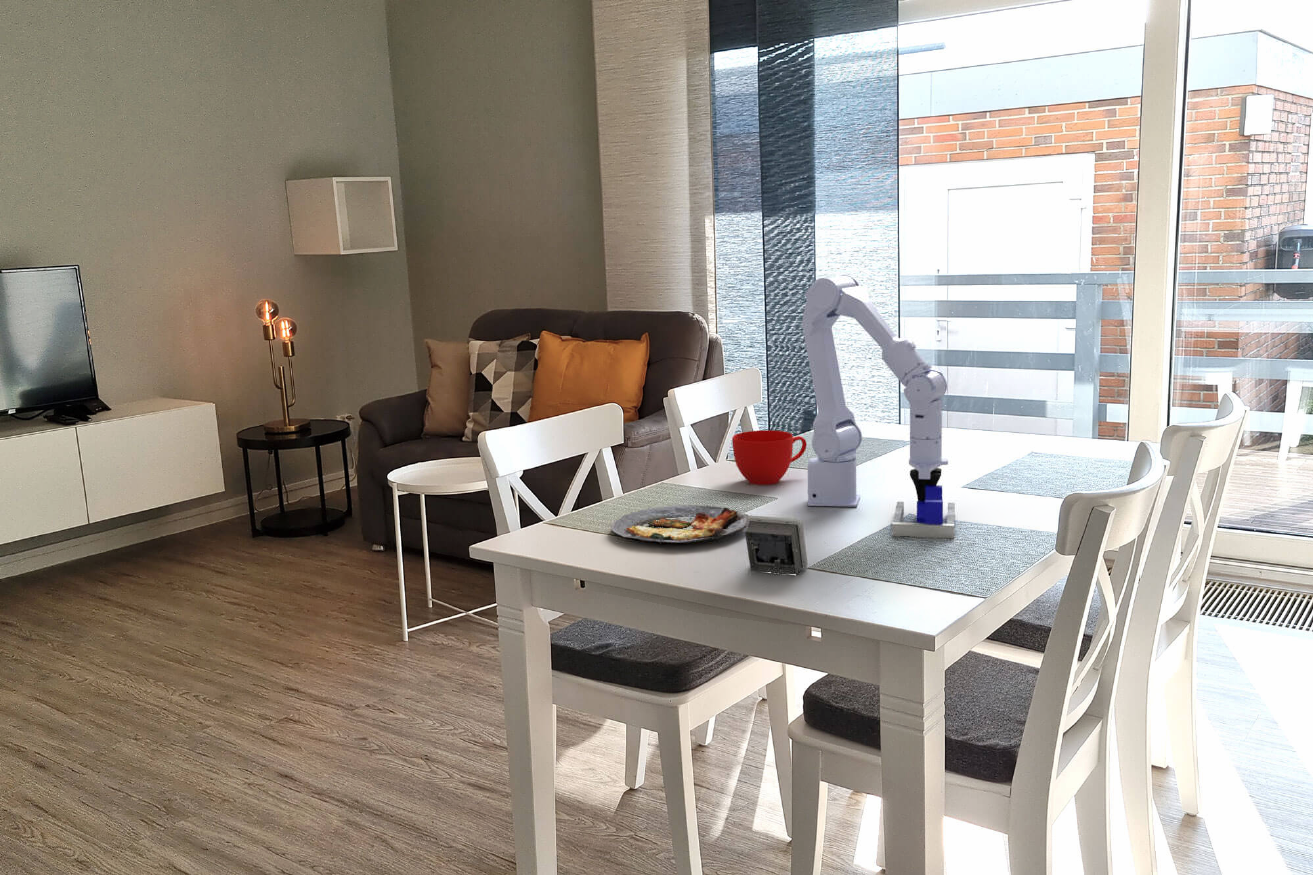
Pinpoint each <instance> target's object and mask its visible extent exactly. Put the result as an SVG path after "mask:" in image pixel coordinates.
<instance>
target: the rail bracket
mask: <svg viewBox="0 0 1313 875" xmlns="http://www.w3.org/2000/svg"><path fill="white" fill-rule="evenodd" d="M955 505H956V504H955V502H947V512H946V513H947V514H946V515H947V516H946V518H947V519H946V523H943V524H939V523H917V522H903V520H904V513H905V512H904V511H905V510H904V509H905V502H904V501H897V502H896V505H895V510H894V515H893V519H892V522H891V523H892V524H891V525H892V526H891V531H892V532H891V533H892V534H891V535H892V537H900V536H910V537H911V538H932V539H933V538H934V539H935V538H937V539H938V538H939V539H941V538H942V539H955V509H956V508H955V507H956V506H955ZM910 537H909V538H910Z"/></svg>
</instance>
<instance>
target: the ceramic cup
mask: <svg viewBox="0 0 1313 875" xmlns="http://www.w3.org/2000/svg"><path fill="white" fill-rule="evenodd" d="M797 441H801V443H802V444H801V447H800V449H799V452H798V453H796V454H795V455H794V456H793V448H794V443H795V442H797ZM731 442H732V451H733V458H734V462H735V464H736V467H737V469H738V471H739V472H740V473H741V475H742V476H743V477H744V479H745V480H747V482H748V484H751V485H755V486H769V485H775V484H778V483H780V480H781V479H782V478H783V477H784V476H785V474H786V473H787V472H788V469H789V468H790V465H791V463H793V462H795V461H797V460H798V459H799V458H801V457H802V456H803V454H805V452H806V450H807V440H806V439H805V438H804V437H802V436H794V435H793V434H792V433H791V432H788V431H781V430H750V431H745V432H739V433H736V434H734V435H733V436H732V441H731Z"/></svg>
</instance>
